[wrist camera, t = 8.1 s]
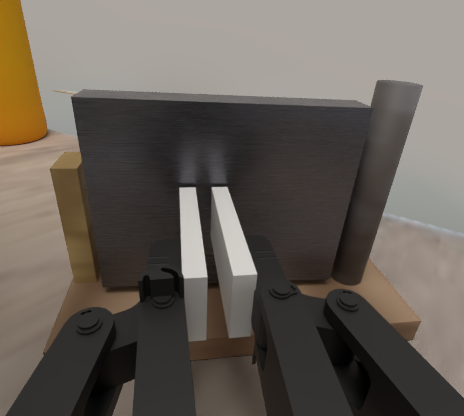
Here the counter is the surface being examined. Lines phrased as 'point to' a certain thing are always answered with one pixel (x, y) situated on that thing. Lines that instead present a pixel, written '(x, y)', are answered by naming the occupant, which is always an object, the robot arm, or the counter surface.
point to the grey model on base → (342, 277)
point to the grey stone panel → (218, 173)
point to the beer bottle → (18, 81)
